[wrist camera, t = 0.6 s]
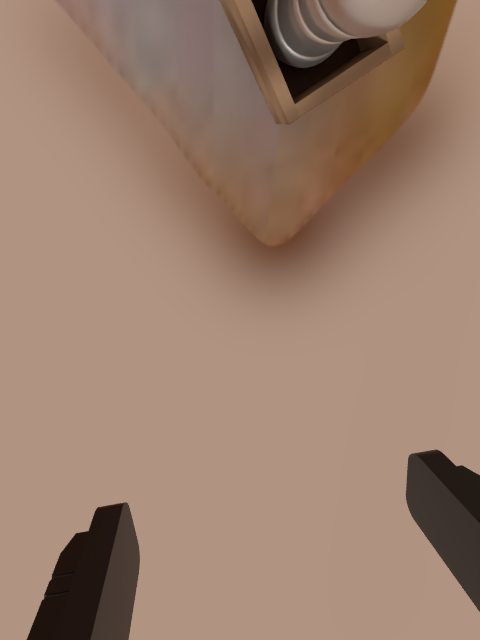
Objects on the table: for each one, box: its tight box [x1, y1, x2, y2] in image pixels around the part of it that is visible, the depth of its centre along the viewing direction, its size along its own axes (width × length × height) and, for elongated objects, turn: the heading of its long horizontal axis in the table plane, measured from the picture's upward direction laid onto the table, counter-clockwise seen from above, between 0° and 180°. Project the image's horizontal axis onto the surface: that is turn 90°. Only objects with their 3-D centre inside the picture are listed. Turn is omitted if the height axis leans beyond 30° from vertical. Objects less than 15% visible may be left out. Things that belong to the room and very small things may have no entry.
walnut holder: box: [220, 0, 404, 124], centre depth 27 cm, size 11×10×5 cm
